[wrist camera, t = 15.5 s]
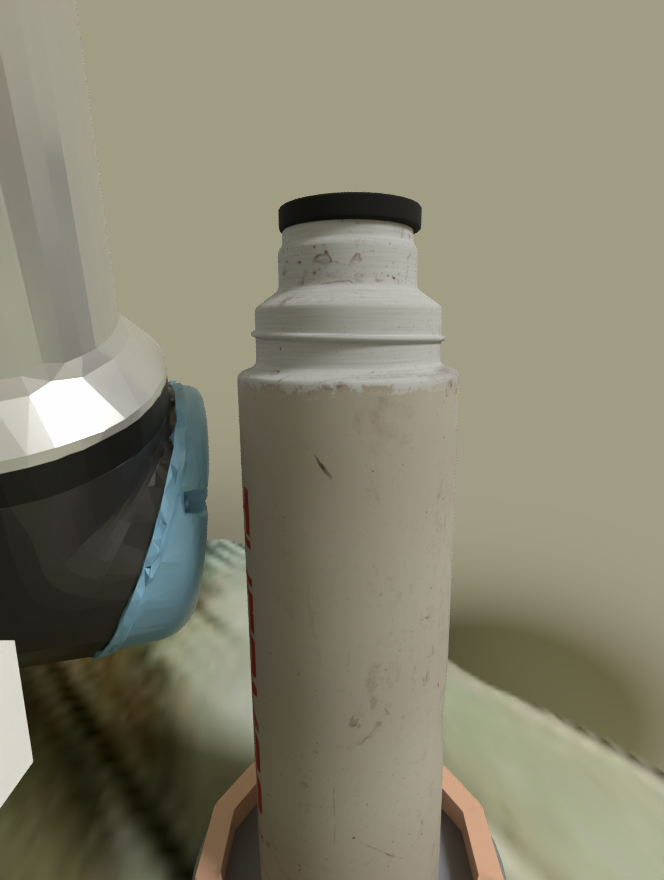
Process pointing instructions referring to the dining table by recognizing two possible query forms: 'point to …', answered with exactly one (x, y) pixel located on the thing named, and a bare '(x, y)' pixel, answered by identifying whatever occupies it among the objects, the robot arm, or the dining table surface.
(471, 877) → the coaster
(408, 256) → the thermos bottle
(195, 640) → the dining table surface
